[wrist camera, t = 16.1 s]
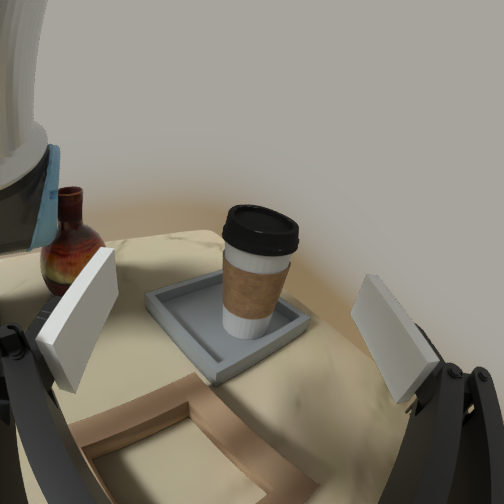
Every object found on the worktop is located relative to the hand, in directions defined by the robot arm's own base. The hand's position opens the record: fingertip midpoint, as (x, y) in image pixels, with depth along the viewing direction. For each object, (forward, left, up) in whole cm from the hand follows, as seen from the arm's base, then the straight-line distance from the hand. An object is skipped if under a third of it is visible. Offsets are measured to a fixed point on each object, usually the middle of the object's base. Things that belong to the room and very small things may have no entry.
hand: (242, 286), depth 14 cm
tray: (-13, +12, -18) cm, 25 cm away
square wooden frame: (+2, -6, -18) cm, 19 cm away
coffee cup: (-11, +13, -17) cm, 24 cm away
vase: (-30, -4, -18) cm, 35 cm away
